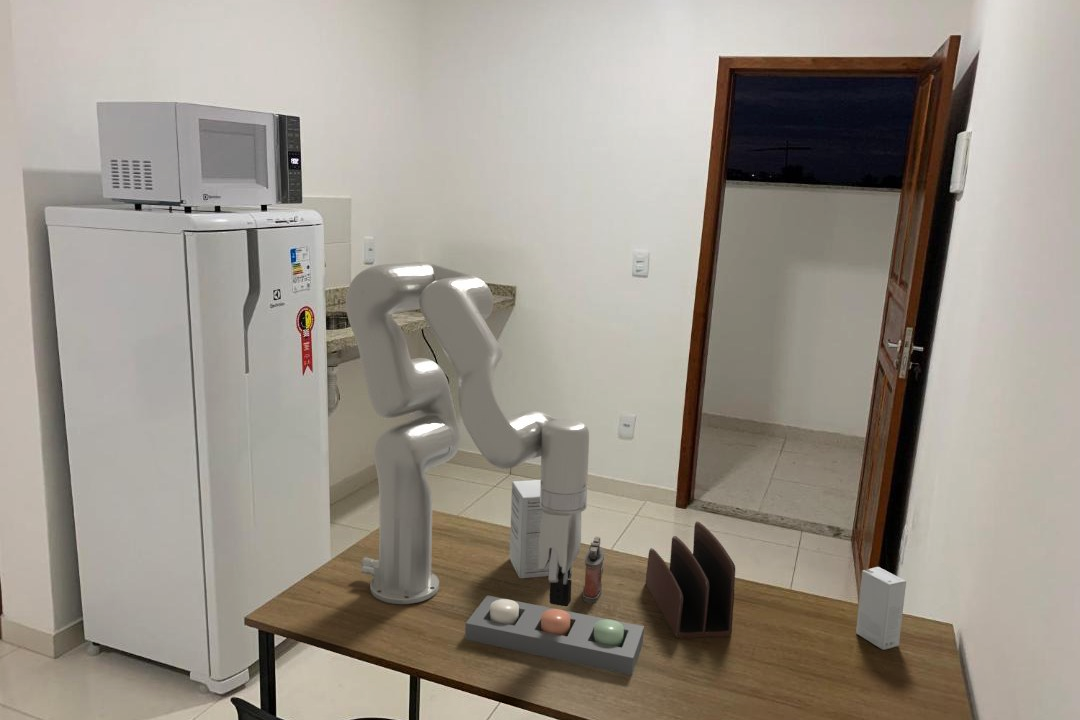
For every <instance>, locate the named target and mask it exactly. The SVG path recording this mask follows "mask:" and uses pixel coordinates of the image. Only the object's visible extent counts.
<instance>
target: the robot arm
mask: <svg viewBox="0 0 1080 720" xmlns="http://www.w3.org/2000/svg"><path fill="white" fill-rule="evenodd" d="M493 295H494V294H493V293H492V291H491V289H490V287H489V286H488V284H486V282H484V281H483V280H482V279H481V278H479V277H477V276H475V275H471V274H468V273H465V272H462V271H458V270H455V269H451V268H447V267H444V266H441V265H437V264H435V263H434V264H433V263H431V262H423V261H422V262H419V261H417V262H416V261H415V262H404V263H397V262H396V263H384V264H383V263H382V264H377V265H374V266H371V267H368V268H366V269H364V270H362V271H360V272H359V273H357V275H355V277H354V278H352V280H351V282H350V283H349V286H348V288H347V291H346V297H345V311H346V316H347V319H348V323H349V326H350V328H351V330H352V333H353V336H354V339H355V341H356V344H357V348H358V352H359V359H360V362H361V366H362V371H363V375H364V380H365V384H366V388H367V392H368V396H369V400H370V403H371V406H372V409H373V410H374V411H375V413H376V414H377V415H379V416H380V417H383V418H386V419H393V418H394V419H395V418H399V417H402V416H406V415H409V414H411V413H412V417H413V419H412V420H407V421H406V422H402V423H399V424H397V425H394V426H392V427H390V428H388V429H387V430H385V431H384V432H382V433H381V434H380V435H379V437H378V438H377V440H376V441H375V445H374V448H373V449H374V450H373V458H374V464H375V470H376V475H377V482H378V498H379V499H378V501H379V502H378V504H379V506H378V507H379V508H378V509H379V513H378V515H379V517H378V519H379V522H378V525H379V528H378V532H379V533H378V536H379V537H378V538H379V540H378V550H379V552H378V559H374V558H369V557H363V558H362V560H361V570H360V572H361V573H362V574H365V575H371V576H372V577H373V578H372V579H371V582H370V586H369V587H370V588H369V589H370V593H371V594H372V596H373V597H374V598H376V599H377V600H379V601H381V602H385V603H387V604H394V605H410V604H417V603H421V602H424V601H427V600H429V599H430V598H432V597H434V596H435V595H436V593H438V591H439V589H440V580H439V578H438V576H437V575H436V574H434V572H432V550H433V548H432V545H433V544H432V540H433V495H432V490H431V487H430V484H429V483H428V480H427V477H426V472H427V471H429V470H432V469H434V468H436V467H438V466H441V465H443V464H445V463H447V462H448V461H450V460H452V459H453V458H454V457H455V456H456V454H458V450H459V448H460V444H461V438H460V437H461V435H460V428H459V424H458V419H457V415H456V411H455V407H454V406H455V405H454V401H453V396H452V393H451V389H450V385H449V380H448V378H447V376H446V374H445V372H444V370H443V368H442V367H441V366H440V365H439V364H438V363H437V362H435V361H433V360H431V359H429V358H425V357H418V358H412V359H411V356H410V355H411V354H410V352H409V348H408V342H407V339H406V337H405V334H404V332H403V330H402V329H401V327H400V326H399V324H398V323H397V322H396V321H395V320H394V318H393V315H394V314H395V313H399V312H400V313H401V312H409V311H415V310H416V311H417V310H420V312H421V315H422V316H423V319H424V321H425V322H426V324H427V325H428V326H429V329H430V331H431V332H432V333H433V335H434V338H435V339H436V340H437V342H438V344H439V346H440V347H441V349H442V351H443V352H444V353H445V355H446V357H447V359H448V361H449V362H450V364H451V366H452V367H453V369H454V371H455V373H456V375H457V381H458V383H457V395H458V406H459V410H460V411H459V412H460V416H461V419H462V423H463V424H464V426H465V428H466V431H467V433H468V435H469V436H470V438H471V440H472V441H473V443H474V444H475V446H476V448H477V449H478V451H479V452H480V454H481V455H482V457H484V459H485V460H486V461H487V462H488V463H489V464H490V465H492V466H494V467H496V468H498V469H505V470H506V469H507V470H509V469H512V468H515V467H517V466H519V465H522V464H523V463H525V462H526V463H527V461H530V460H533V459H536V458H539V457H540V479H539V480H540V507H541V508H542V509H543V514H542V520H541V528H540V538H539V552H538V568H539V570H542V569H543V570H544V568H545V567H546V565H547V564H548V563H549V561H550V569H549V576H548V582H549V603H550V604H551V605H556V606H561V607H566V608H567V607H569V605H570V603H571V602H572V576H573V564H574V562H575V560H576V559H577V557H578V555H579V553H580V550H581V544H582V512H584V511H585V510H586V509H587V504H588V503H587V501H588V480H589V479H588V477H589V475H588V474H589V472H588V471H589V452H590V451H589V449H590V448H589V447H590V445H589V444H590V431H589V428H588V426H587V425H586V424H585V423H583V422H581V421H579V420H574V419H566V418H564V419H561V418H558V417H554V416H552V415H549V414H547V413H545V412H542V411H538V410H526V411H523V412H520V413H518V414H515V415H512V416H510V417H506V415H505V414H504V412H503V410H502V409H501V407H500V405H499V403H498V401H497V399H496V396H495V392H494V386H493V385H494V384H493V381H494V374H495V370H496V369H497V366H498V364H499V362H500V361H501V359H502V358H503V357H502V356H503V349H502V347H501V346H500V344H499V342H498V341H497V339H496V337H495V335H494V334H493V332H492V330H491V329H490V328H489V325H488V324H487V322H486V320H487V319H488V318H489V317H490V315H491V314H492V311H493V310H494V296H493Z"/></svg>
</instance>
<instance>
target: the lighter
mask: <svg viewBox="0 0 1080 720" xmlns="http://www.w3.org/2000/svg"><path fill="white" fill-rule="evenodd" d="M604 559H605V549H604V548H603V547H602V546H601V538H600V536H594V537H593V541H592V542H590V547H589V548H588V550H587V551H586V553H585V558H584V566H585V571H584V572H585V573H584V574H585V575H584V585H583V590H582V599H583V600H584V601H585V602H587V603H596V602H597V601H598V600H599V599H600V598H601V596H602V591H603V582H602V578H603V573H604V563H605V562H604Z"/></svg>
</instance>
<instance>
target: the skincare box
mask: <svg viewBox="0 0 1080 720" xmlns="http://www.w3.org/2000/svg"><path fill="white" fill-rule="evenodd" d="M860 580H861V582H860V590H859V598H858V599H859V600H858V609H857V610H858V611H857V619H856V629H855V630H856V631H855V633H856V634H857V635H859V636H860V637H861V638H863V639H865V640H866V641H868V642H869V643H871V644H873V645H874V646H876V647H877V648H879V649H880V650H888V649H889V650H890V649H893V648H895V647H898V646H900V638H901V630H902V621H903V615H904V614H903V611H904V605H905V603H904V602H905V597H906V595H905V594H906V587H907V581H906V580H905V579H903V578H901V577H899V576H897V575H895V574H894V573H891V572H889V571H887V570H886V569H883V568H881V567H880V566H875V567H872V568H866V569H863V570H861V579H860Z"/></svg>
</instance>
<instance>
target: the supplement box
mask: <svg viewBox="0 0 1080 720" xmlns="http://www.w3.org/2000/svg"><path fill="white" fill-rule="evenodd" d="M540 480H541V479H533V480H531V479H530V480H516V481H515V480H514V481H512V482H511V500H510V501H511V503H510V530H509V531H510V533H509V535H510V536H509V539H510V541H509V560H510V562H511V565H512V566H513V569H514V570H515V572H516V574H517V576H518V578H519V579H528V578H539V577H549V569H550V561H549V563H548V564H547V565H546V567H545V568H544V570H543V569H542V570H539V568H538V552H539V538H540V528H541V520H542V514H543V509H542V508H541V507H540Z"/></svg>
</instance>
